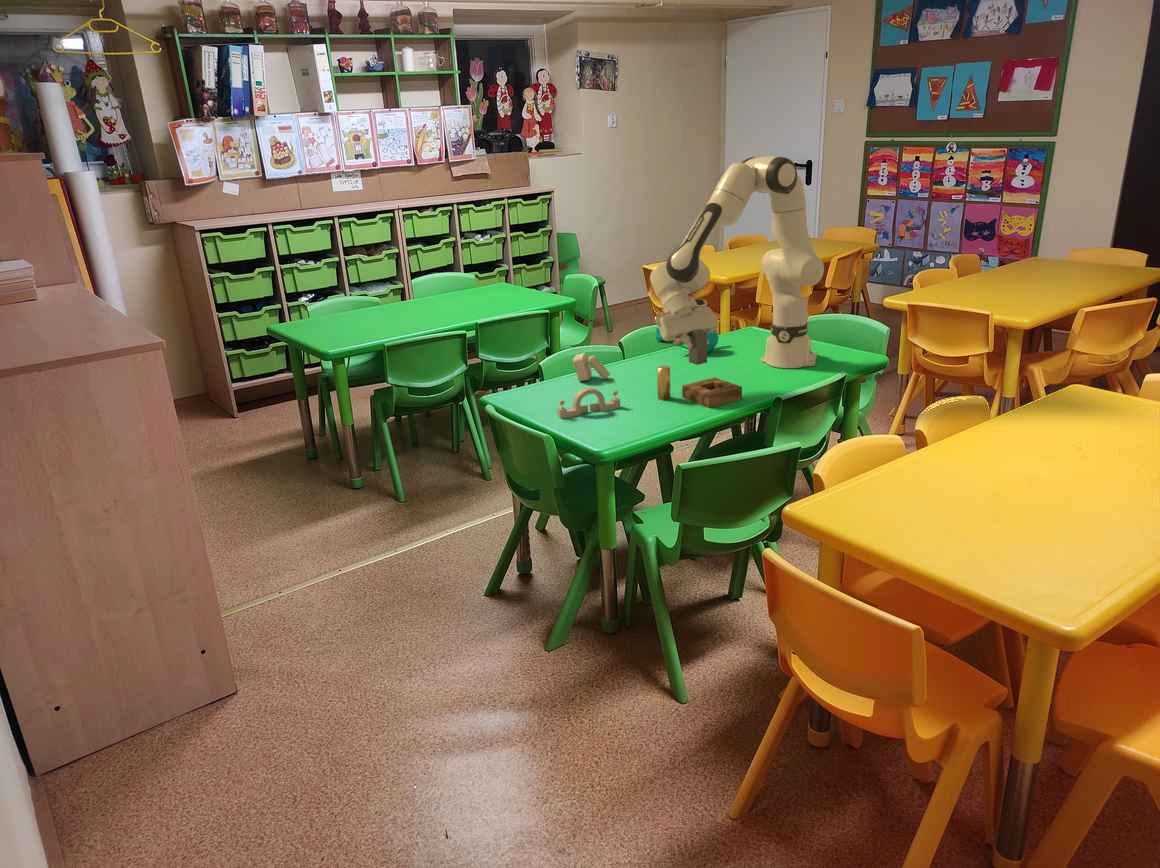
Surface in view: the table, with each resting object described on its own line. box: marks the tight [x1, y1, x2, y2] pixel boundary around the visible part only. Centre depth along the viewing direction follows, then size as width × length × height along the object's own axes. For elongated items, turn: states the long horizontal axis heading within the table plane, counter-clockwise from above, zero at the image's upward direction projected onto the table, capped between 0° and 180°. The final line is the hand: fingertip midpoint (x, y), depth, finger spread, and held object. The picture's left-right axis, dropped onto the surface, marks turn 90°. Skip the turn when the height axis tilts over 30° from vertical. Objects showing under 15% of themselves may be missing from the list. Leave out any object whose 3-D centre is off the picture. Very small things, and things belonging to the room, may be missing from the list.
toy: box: [655, 325, 720, 354], centre depth 309 cm, size 22×10×30 cm
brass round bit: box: [656, 365, 671, 401], centre depth 252 cm, size 4×4×10 cm
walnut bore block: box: [681, 376, 743, 409], centre depth 251 cm, size 13×13×4 cm
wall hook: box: [572, 352, 611, 383], centre depth 275 cm, size 8×10×10 cm
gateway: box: [557, 386, 621, 419], centre depth 245 cm, size 20×2×8 cm, turn 112°
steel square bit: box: [688, 329, 708, 366], centre depth 250 cm, size 4×4×10 cm
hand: (699, 346), depth 249 cm, fingers closed on steel square bit, 4 cm apart
